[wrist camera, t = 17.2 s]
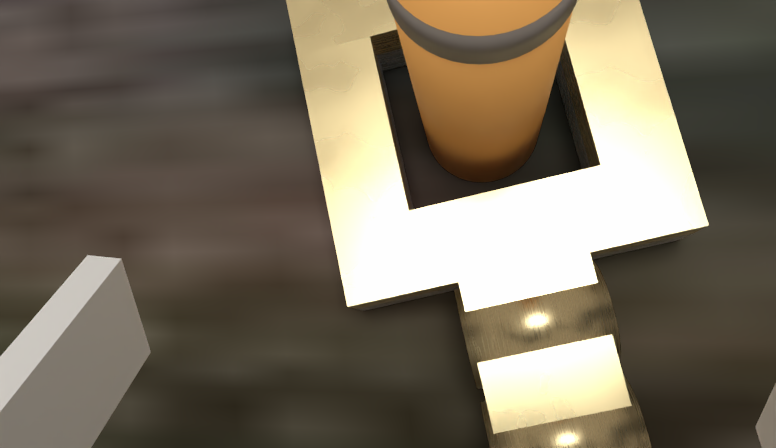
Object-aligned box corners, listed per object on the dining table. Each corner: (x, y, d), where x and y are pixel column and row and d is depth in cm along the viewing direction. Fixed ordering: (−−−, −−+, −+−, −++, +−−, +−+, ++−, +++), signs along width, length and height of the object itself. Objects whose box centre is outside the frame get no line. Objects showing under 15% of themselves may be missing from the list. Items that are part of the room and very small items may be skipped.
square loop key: (544, -209, 26) (553, -283, 23) (744, 453, 22) (788, 472, 18) (274, -130, 27) (247, -190, 24) (406, 518, 23) (393, 547, 19)
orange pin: (562, 108, 24) (636, -110, 12) (501, 204, 24) (519, 74, 12) (463, 54, 25) (446, -197, 13) (403, 147, 25) (333, -26, 13)
